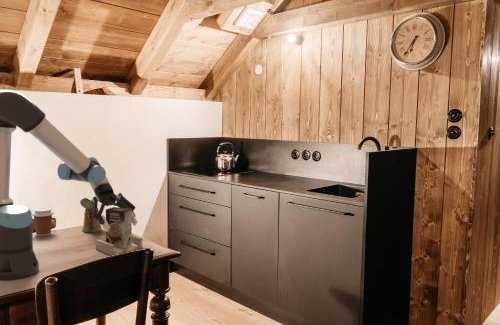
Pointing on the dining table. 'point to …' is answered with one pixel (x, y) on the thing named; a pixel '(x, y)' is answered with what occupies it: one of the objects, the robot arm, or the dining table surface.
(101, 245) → the shallow rail tray
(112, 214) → the coffee box
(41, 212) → the coffee cup
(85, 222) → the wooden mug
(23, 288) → the dining table surface
